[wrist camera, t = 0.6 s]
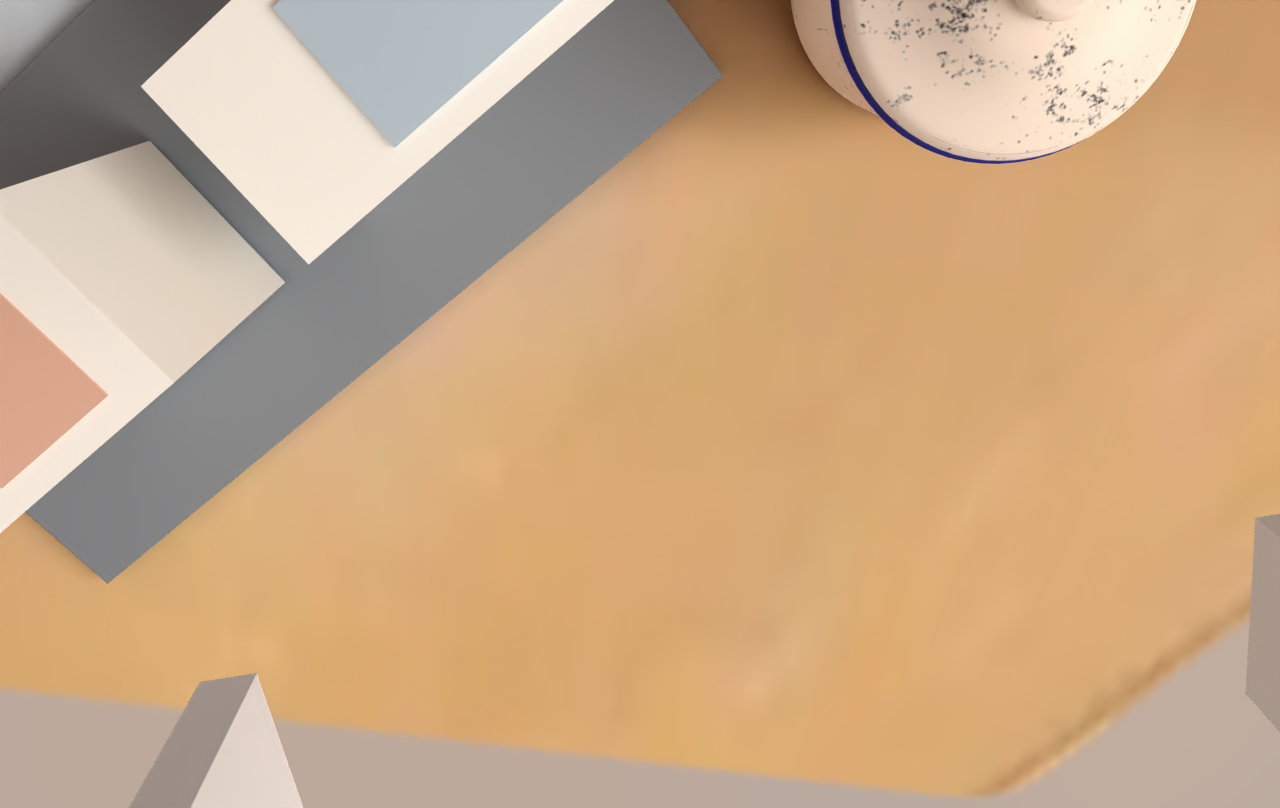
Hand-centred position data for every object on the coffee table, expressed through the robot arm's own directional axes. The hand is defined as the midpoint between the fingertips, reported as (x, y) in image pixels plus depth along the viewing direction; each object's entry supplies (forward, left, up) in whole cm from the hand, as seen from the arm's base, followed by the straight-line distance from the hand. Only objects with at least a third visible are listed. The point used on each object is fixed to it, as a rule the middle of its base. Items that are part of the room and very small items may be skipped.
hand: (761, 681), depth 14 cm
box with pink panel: (-11, -14, -24) cm, 30 cm away
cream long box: (-11, 0, -24) cm, 26 cm away
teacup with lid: (-3, +13, -25) cm, 28 cm away
